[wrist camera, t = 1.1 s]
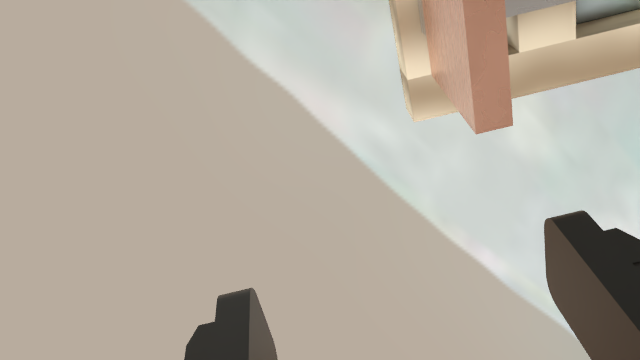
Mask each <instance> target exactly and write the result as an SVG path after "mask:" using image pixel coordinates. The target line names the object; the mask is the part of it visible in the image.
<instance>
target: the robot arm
mask: <svg viewBox="0 0 640 360" xmlns="http://www.w3.org/2000/svg"><path fill="white" fill-rule="evenodd" d="M544 235H545V259H546V278H547V283H548V287H549V290H550V293H551V296H552V298H553V300H554V302H555V304H556V306H557V307H558V309H559V310H560V312H561V313H562V315H563V316H564V318H565V320H566V321H567V323H568V324H569V326H570V327H571V329H572V330H573V332H574V333H575V335H576V337H577V338H578V340H579V341H580V343H581V344H582V346H583V347H584V349H585V350H586V352H587V353H588V355H589V357H590V358H591V360H640V240H639V239H637V238H635V237H633V236H631V235H629V234H627V233H625V232H623V231H621V230H619V229H617V228H614V229H610V230H606V231H603V230H602V229H601V228H600V227H599V225H598V224H597V223H596V222H595V221H594V220H593V219H592V218H591V217H590V215H589V214H588V213H587V212H585V211H577V212H573V213H569V214H565V215H560V216H556V217H552V218H548V219H546V220H545V224H544ZM184 360H277V354H276V349H275V345H274V341H273V338H272V335H271V333H270V330H269V327H268V324H267V322H266V319H265V316H264V314H263V311H262V308H261V305H260V303H259V300H258V297H257V295H256V292H255V290H254V289H253V288H249V289H245V290H241V291H236V292H232V293H229V294H224V295H220V296H218V299H217V307H216V317H215V322H211V323H208V324H203V325H199V326H198V327H197V329H196V331H195V332H194V334H193V336H192V338H191V339H190V341H189V343H188V344H187V346H186V352H185V359H184Z"/></svg>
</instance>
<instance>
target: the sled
mask: <svg viewBox="0 0 640 360" xmlns="http://www.w3.org/2000/svg"><path fill="white" fill-rule="evenodd" d="M572 1H576V0H417V2H418V9H419V16H420V23H421V31H422V33H423V34H424V35H425V36H426V37H427V44H428V52H429V59H430V67H431V74H432V77H433V78H434V79H435V81H436V82H437V83H438V85H439V86H440V87H441V89H442V90H443V91H444V93H445V94H446V95H447V97H448V98H449V99H450V101H451V102H452V103H453V104H454V106H455V107H456V108H457V110H458V111H459V112H460V114H461V115H462V116H463V118H464V119H465V120H466V122H467V123H468V124H469V126H470V127H471V128H472V130H473V131H474V132H475V134H479V133H483V132H488V131H492V130H496V129H500V128H504V127H508V126H513V118H512V103H511V87H510V72H509V56H508V40H507V25H506V18H507V17H511V16H515V15H519V14H523V13H527V12H531V11H535V10H540V9H544V8H548V7H552V6H556V5H560V4H564V3H568V2H572Z"/></svg>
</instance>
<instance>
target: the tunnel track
mask: <svg viewBox="0 0 640 360" xmlns="http://www.w3.org/2000/svg"><path fill="white" fill-rule="evenodd" d="M389 4H390V10H391V16H392V23H393V29H394V35H395V41H396V47H397V53H398V60H399V66H400V72H401V78H402V84H403V90H404V97H405V103H406V109H407V110H408V112H409V114H410V116H411V117H412V119H413V121H414V122H418V121H422V120H426V119H430V118H434V117H438V116H442V115H447V114H451V113H455V112H459V111H458V110H457V108H456V107H455V106H454V104H453V103H452V102H451V101H450V99H449V98H448V97H447V95H446V94H445V93H444V91H443V90H442V89H441V87H440V86H439V85H438V83H437V82H436V81H435V79H434V78H433V77H432V74H431V67H430V59H429V52H428V44H427V37H426V36H425V35H424V34H423V33H422V31H421V23H420V16H419V9H418V2H417V0H389ZM506 25H507V40H508V56H509V72H510V87H511V99H513V98H517V97H521V96H525V95H529V94H533V93H537V92H542V91H546V90H550V89H554V88H558V87H562V86H566V85H571V84H575V83H579V82H583V81H587V80H591V79H595V78H599V77H604V76H608V75H612V74H616V73H620V72H624V71H628V70H633V69H637V68H640V9H638V10H634V11H630V12H626V13H622V14H618V15H613V16H609V17H605V18H601V19H597V20H593V21H589V22H585V23H581V24H577V25H576V1H572V2H568V3H564V4H560V5H556V6H552V7H548V8H544V9H540V10H535V11H531V12H527V13H523V14H519V15H515V16H511V17H507V18H506Z"/></svg>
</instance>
